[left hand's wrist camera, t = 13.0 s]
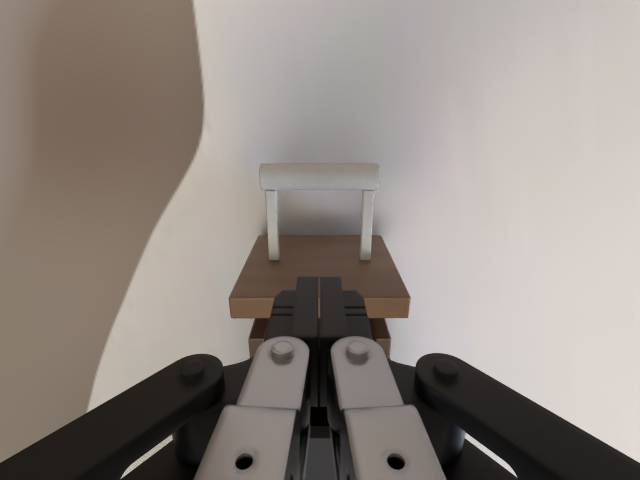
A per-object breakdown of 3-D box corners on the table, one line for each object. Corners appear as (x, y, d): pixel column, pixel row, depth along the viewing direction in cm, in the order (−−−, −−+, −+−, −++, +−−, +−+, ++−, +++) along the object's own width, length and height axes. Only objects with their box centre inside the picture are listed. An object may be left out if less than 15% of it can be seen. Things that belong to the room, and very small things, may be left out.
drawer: (252, 154, 24) (215, 180, 15) (386, 154, 24) (423, 179, 15) (270, 426, 32) (253, 539, 24) (369, 426, 32) (386, 539, 24)
